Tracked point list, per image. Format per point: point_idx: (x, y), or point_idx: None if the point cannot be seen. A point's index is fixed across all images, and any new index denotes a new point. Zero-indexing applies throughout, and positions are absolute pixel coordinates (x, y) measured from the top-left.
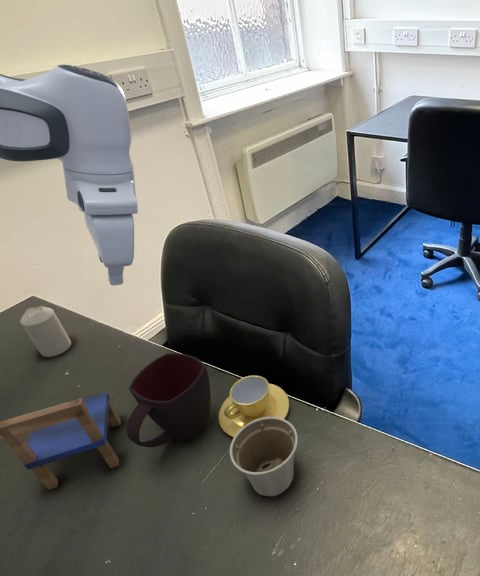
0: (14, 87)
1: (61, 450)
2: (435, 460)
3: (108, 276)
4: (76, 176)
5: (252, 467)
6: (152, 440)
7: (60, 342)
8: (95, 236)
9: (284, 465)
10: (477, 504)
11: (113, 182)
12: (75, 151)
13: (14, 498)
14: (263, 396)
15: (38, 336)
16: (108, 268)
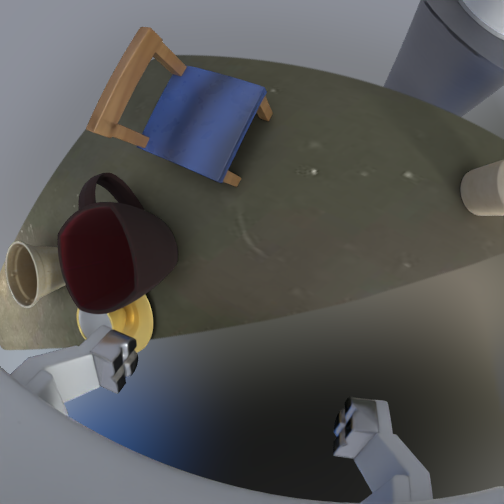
0: None
1: (162, 101)
2: (23, 349)
3: (108, 346)
4: None
5: None
6: (128, 198)
7: (470, 196)
8: (39, 494)
9: (11, 271)
10: (3, 332)
11: None
12: None
13: (223, 62)
14: (78, 325)
15: (485, 170)
16: (31, 357)
